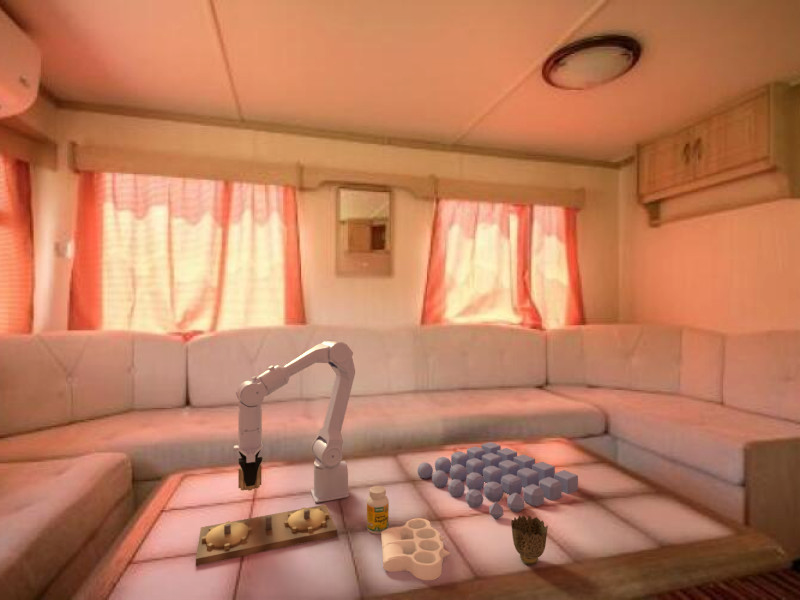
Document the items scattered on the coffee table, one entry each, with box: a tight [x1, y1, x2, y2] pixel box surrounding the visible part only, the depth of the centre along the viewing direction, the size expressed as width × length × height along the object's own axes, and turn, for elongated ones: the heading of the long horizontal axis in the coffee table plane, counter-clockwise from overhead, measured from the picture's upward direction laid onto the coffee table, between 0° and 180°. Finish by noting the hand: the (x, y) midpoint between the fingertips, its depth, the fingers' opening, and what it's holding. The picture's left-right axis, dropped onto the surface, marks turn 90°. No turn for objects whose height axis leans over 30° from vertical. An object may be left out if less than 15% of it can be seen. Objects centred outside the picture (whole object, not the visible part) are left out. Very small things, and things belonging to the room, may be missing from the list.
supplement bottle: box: [366, 485, 390, 535], centre depth 100 cm, size 5×5×10 cm
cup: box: [510, 515, 548, 566], centre depth 87 cm, size 8×7×8 cm
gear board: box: [195, 504, 338, 567], centre depth 97 cm, size 30×13×4 cm, turn 112°
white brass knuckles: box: [380, 517, 451, 581], centre depth 90 cm, size 3×18×15 cm
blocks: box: [416, 441, 579, 520], centre depth 126 cm, size 35×34×5 cm
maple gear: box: [237, 464, 262, 491], centre depth 107 cm, size 6×6×5 cm
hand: (250, 480), depth 107 cm, fingers closed on maple gear, 6 cm apart
